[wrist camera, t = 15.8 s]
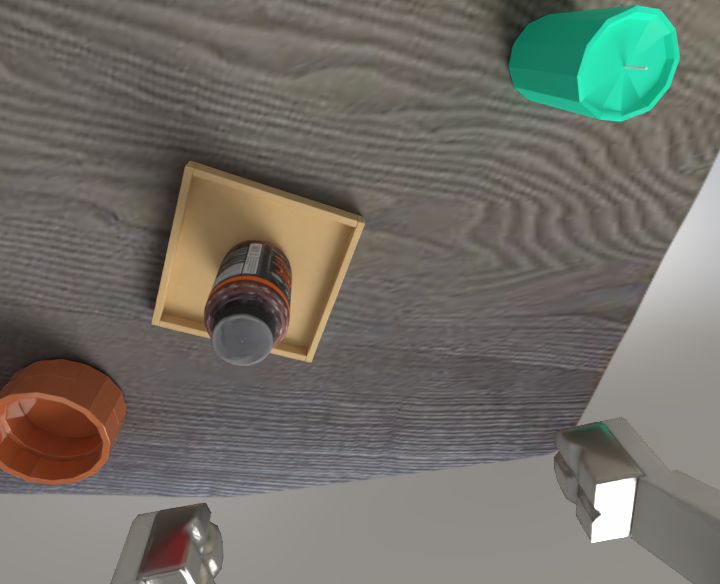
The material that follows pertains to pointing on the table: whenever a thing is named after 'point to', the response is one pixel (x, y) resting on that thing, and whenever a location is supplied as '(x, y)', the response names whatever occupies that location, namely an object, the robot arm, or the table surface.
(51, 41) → the table surface
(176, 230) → the tray
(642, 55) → the candle
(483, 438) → the table surface
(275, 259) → the supplement bottle
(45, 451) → the bowl
